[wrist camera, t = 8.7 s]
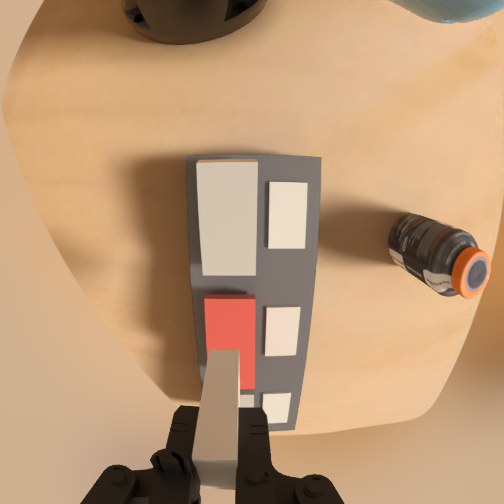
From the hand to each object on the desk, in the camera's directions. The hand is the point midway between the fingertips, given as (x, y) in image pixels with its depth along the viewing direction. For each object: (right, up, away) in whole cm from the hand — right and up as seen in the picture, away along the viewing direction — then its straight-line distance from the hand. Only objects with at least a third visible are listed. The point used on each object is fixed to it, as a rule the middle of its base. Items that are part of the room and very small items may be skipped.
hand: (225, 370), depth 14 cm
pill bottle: (+18, +8, +14) cm, 24 cm away
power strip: (+1, +1, +15) cm, 15 cm away
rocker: (0, +8, +5) cm, 10 cm away
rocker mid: (0, -1, +8) cm, 8 cm away
